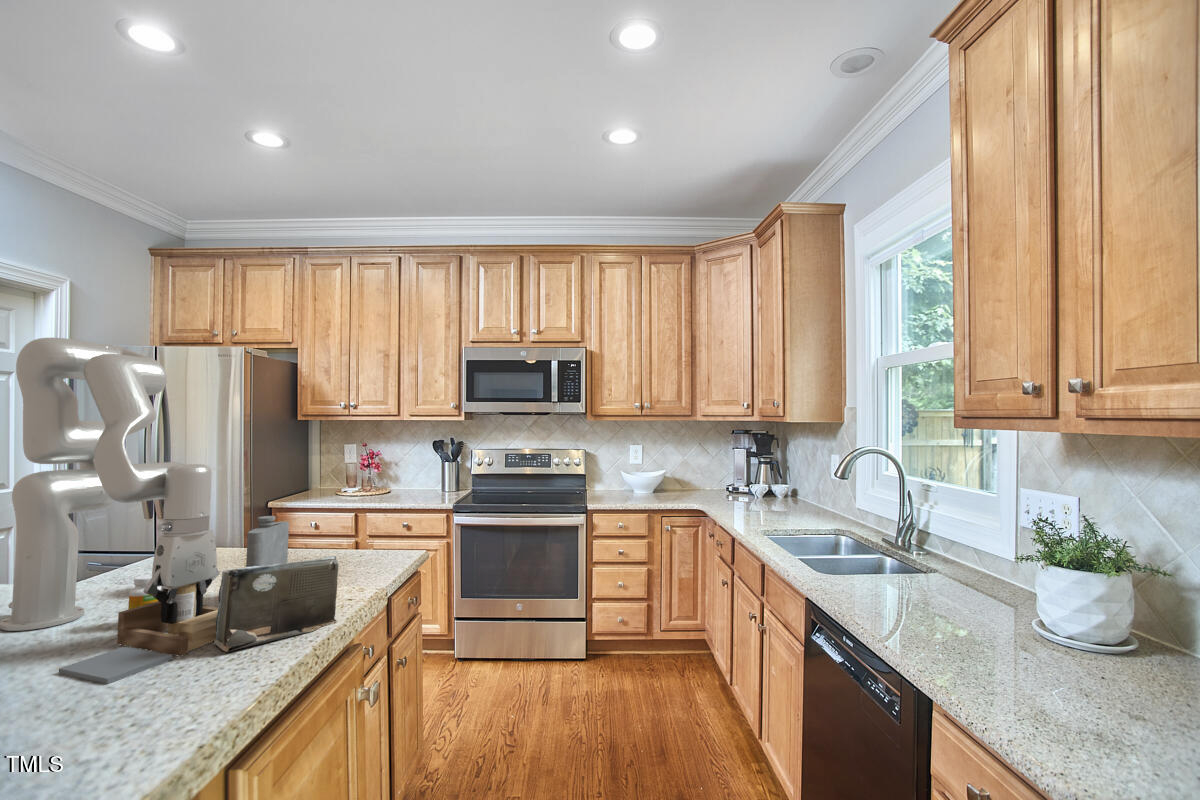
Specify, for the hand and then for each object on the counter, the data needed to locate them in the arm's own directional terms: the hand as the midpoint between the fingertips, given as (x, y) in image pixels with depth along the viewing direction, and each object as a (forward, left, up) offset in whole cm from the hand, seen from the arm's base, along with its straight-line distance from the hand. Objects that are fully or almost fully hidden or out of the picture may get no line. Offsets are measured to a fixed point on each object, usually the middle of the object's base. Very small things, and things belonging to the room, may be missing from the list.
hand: (181, 617), depth 110 cm
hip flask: (-4, +22, -4) cm, 23 cm away
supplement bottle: (-14, +2, -4) cm, 14 cm away
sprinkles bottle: (0, 0, -4) cm, 4 cm away
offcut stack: (+7, 0, -3) cm, 8 cm away
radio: (+17, +7, -4) cm, 19 cm away
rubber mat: (+4, -14, -3) cm, 15 cm away
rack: (+1, 0, -3) cm, 4 cm away
